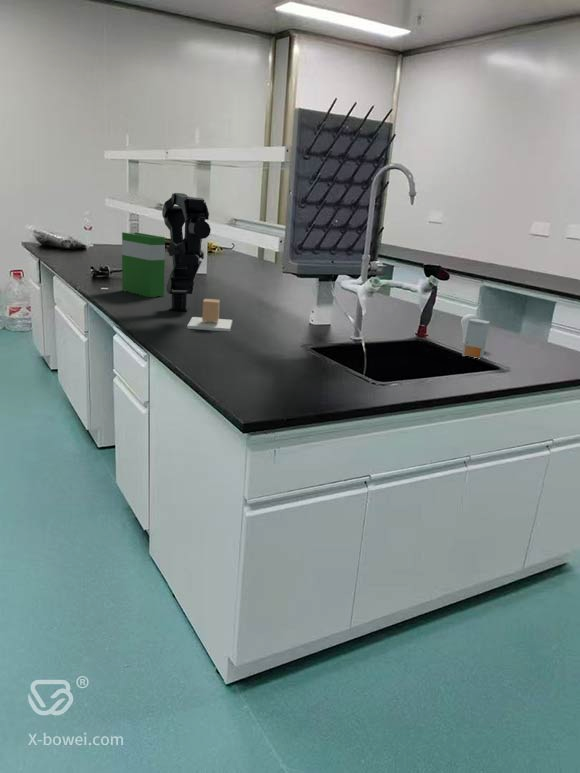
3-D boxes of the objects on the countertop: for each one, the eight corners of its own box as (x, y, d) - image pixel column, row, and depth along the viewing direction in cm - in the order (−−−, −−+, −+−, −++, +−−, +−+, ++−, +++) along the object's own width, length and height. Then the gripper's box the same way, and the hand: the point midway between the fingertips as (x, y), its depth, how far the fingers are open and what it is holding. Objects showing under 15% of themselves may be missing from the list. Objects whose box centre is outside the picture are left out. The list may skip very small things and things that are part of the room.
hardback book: (122, 290, 252) (122, 232, 244) (136, 289, 257) (136, 232, 250) (149, 297, 242) (150, 237, 235) (163, 296, 248) (164, 237, 240)
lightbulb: (465, 347, 204) (471, 316, 200) (453, 343, 209) (458, 312, 205) (478, 347, 206) (484, 316, 203) (466, 342, 211) (471, 312, 208)
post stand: (192, 319, 209) (193, 297, 207) (232, 322, 210) (233, 300, 208) (187, 328, 196) (188, 304, 194) (229, 331, 197) (231, 307, 195)
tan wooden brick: (203, 317, 205) (204, 298, 203) (218, 318, 205) (219, 299, 203) (202, 320, 200) (203, 301, 198) (217, 321, 200) (218, 302, 198)
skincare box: (461, 356, 192) (468, 319, 188) (464, 353, 195) (471, 318, 192) (480, 360, 189) (487, 323, 185) (483, 357, 193) (490, 321, 189)
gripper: (173, 232, 211) (172, 276, 216) (164, 235, 193) (163, 283, 198) (204, 234, 211) (203, 278, 216) (199, 238, 194) (197, 286, 199)
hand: (191, 281), depth 207 cm, fingers closed
